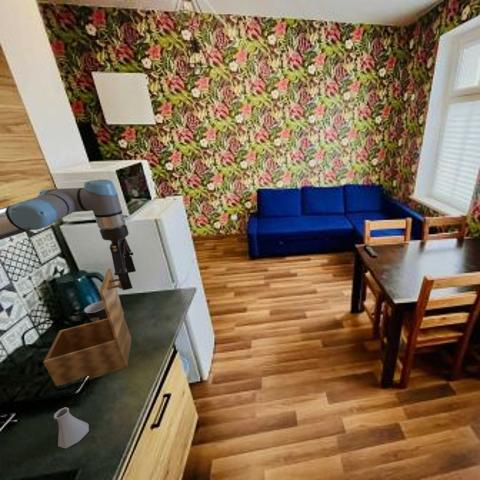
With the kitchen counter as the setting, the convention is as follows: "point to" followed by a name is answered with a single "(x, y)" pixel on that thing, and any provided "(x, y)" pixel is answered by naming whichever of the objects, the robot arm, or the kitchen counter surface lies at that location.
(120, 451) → the kitchen counter surface
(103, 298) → the knobbed wooden cover
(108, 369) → the chest
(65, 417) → the flask
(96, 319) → the coffee mug
